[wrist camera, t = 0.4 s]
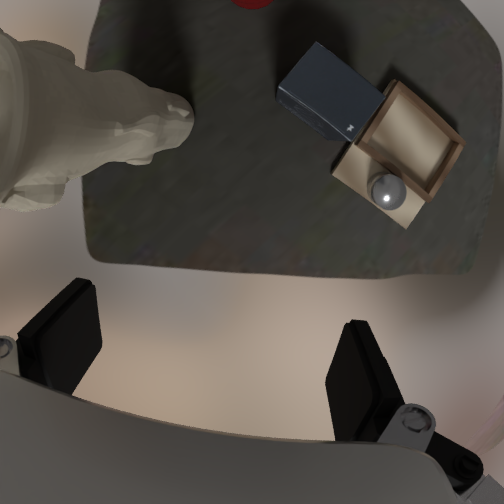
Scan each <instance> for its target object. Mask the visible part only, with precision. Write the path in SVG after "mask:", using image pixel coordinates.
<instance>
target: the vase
mask: <svg viewBox="0 0 504 504" xmlns="http://www.w3.org/2000/svg"><path fill="white" fill-rule="evenodd" d="M193 124H194V113H193V110H192V107H191V105H190V104H189V103H188V101H187V100H186V99H184V98H183V97H182V96H180V95H177V94H174V93H170V92H165V91H163V90H162V89H158V88H151V87H149V86H147V85H146V84H144V83H143V82H141V81H140V80H139V79H137V78H135V77H134V76H132V75H130V74H128V73H125V72H123V71H119V70H106V71H101V72H95V73H92V72H89V71H86V70H84V69H81V68H80V67H78V66H76V65H75V56H74V54H73V53H72V52H71V51H70V50H68V49H66V48H64V47H62V46H60V45H57V44H53V43H50V42H46V41H38V40H30V41H23V42H18V41H17V40H16V39H14V38H12V37H11V36H10V35H8V34H7V33H4V32H3V30H2V29H1V28H0V208H2V207H3V208H7V209H12V210H17V211H20V212H27V211H32V210H38V209H44V208H49V207H51V206H54V205H56V204H58V203H59V202H60V200H61V198H62V196H63V194H64V189H65V184H66V183H67V182H68V181H69V180H72V179H75V178H78V177H80V176H82V175H84V174H86V173H88V172H90V171H92V170H94V169H95V168H97V167H99V166H100V165H102V164H104V163H107V162H110V161H117V162H125V161H126V162H127V163H129V164H134V165H144V164H149V163H150V162H151V161H152V159H153V155H154V153H155V152H159V151H161V150H164V149H169V148H176V147H178V146H179V145H180V144H181V143H182V142H183V141H184V140H185V139H186V138H187V137H188V136H189V134H190V132H191V130H192V127H193Z"/></svg>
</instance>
